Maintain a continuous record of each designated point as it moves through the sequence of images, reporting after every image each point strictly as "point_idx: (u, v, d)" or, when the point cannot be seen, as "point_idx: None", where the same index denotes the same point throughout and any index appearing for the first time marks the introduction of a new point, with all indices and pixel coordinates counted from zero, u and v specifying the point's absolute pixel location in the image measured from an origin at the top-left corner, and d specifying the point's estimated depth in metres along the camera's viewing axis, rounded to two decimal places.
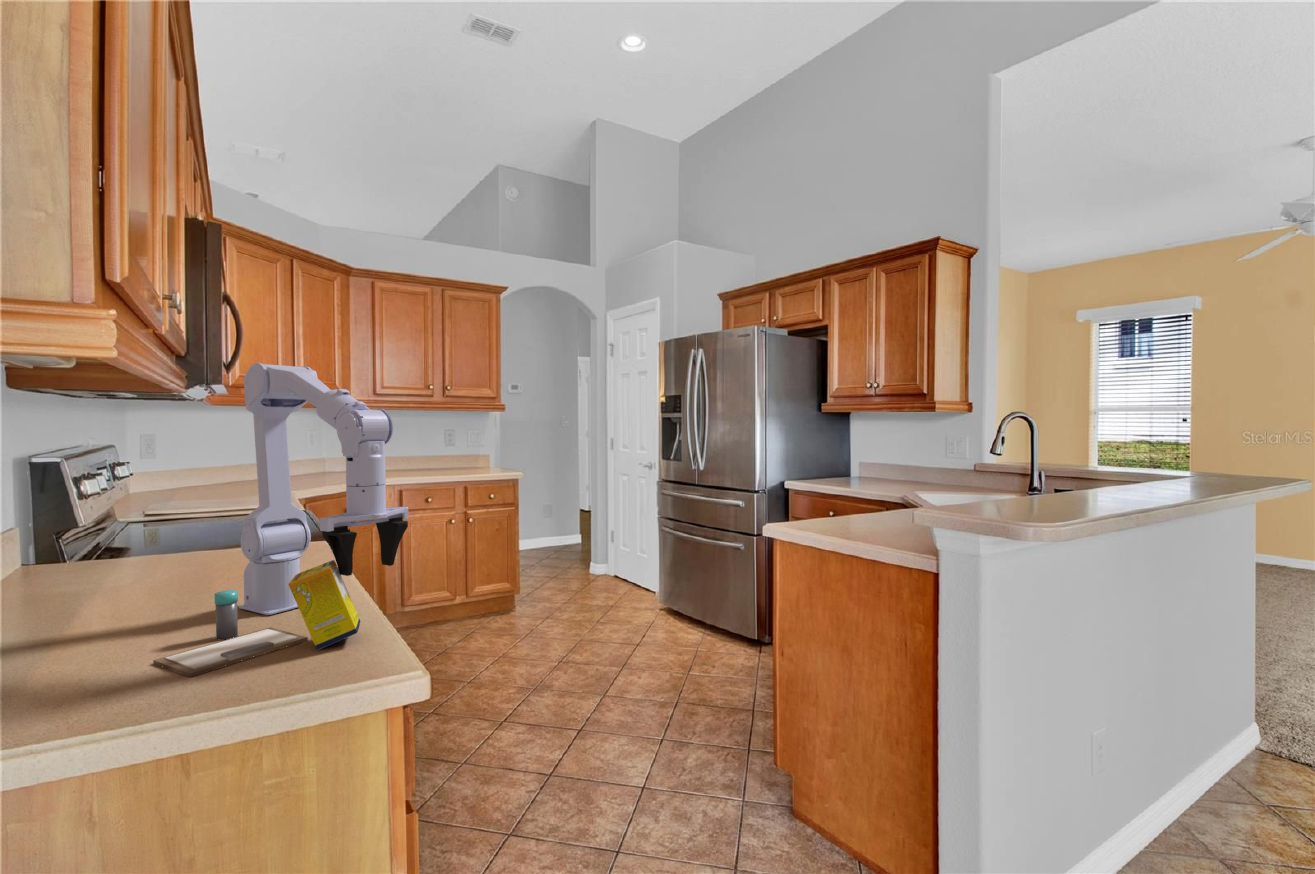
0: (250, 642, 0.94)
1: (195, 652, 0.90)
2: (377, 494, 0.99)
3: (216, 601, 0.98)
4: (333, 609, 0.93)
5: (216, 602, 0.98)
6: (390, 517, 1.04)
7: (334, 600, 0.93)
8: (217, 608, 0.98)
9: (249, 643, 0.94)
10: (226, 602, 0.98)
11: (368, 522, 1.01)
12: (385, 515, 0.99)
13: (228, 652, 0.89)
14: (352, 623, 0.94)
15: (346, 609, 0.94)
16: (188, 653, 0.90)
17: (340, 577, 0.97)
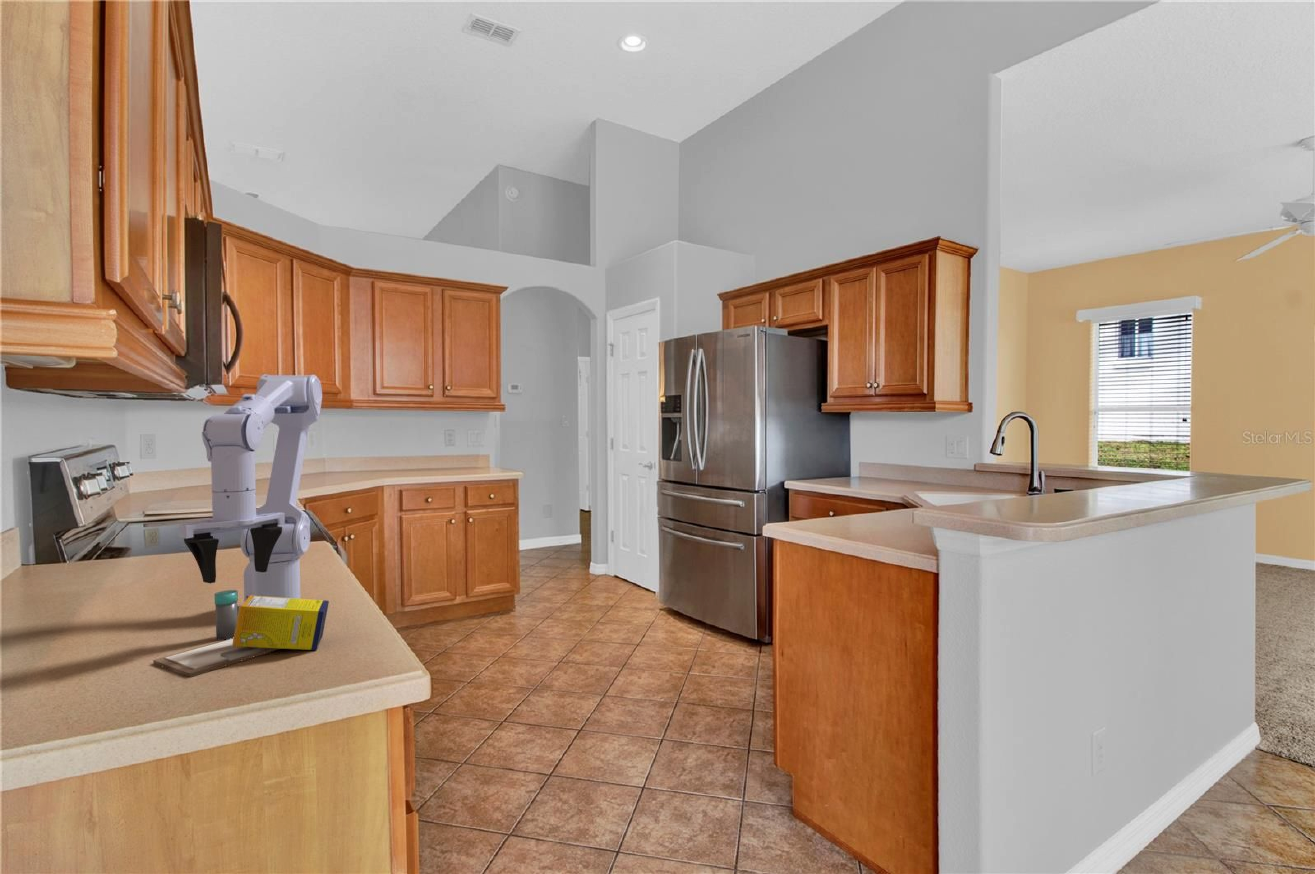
0: None
1: (195, 652, 0.90)
2: (244, 499, 0.97)
3: (216, 601, 0.98)
4: (285, 620, 0.91)
5: (216, 602, 0.98)
6: (263, 523, 1.02)
7: (277, 616, 0.91)
8: (217, 608, 0.98)
9: None
10: (226, 602, 0.98)
11: (236, 528, 0.99)
12: (252, 521, 0.97)
13: (228, 652, 0.89)
14: (311, 611, 0.92)
15: (293, 610, 0.91)
16: (188, 653, 0.90)
17: (268, 598, 0.94)
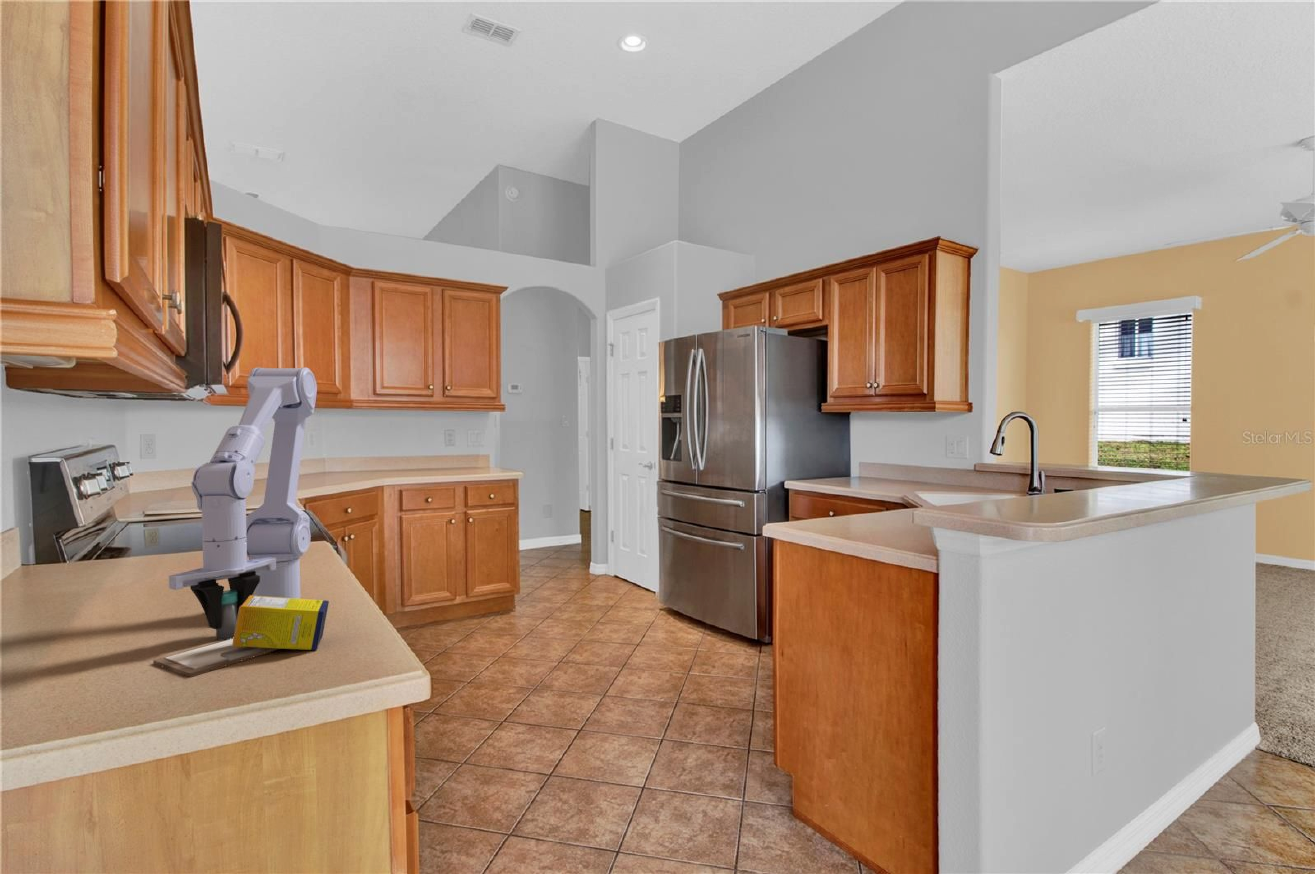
0: None
1: (195, 652, 0.90)
2: (234, 548, 0.97)
3: None
4: (285, 620, 0.91)
5: None
6: (254, 569, 1.02)
7: (277, 616, 0.91)
8: None
9: None
10: (226, 602, 0.98)
11: (227, 576, 0.99)
12: (242, 570, 0.97)
13: (228, 652, 0.89)
14: (311, 611, 0.92)
15: (293, 610, 0.91)
16: (188, 653, 0.90)
17: (268, 598, 0.94)
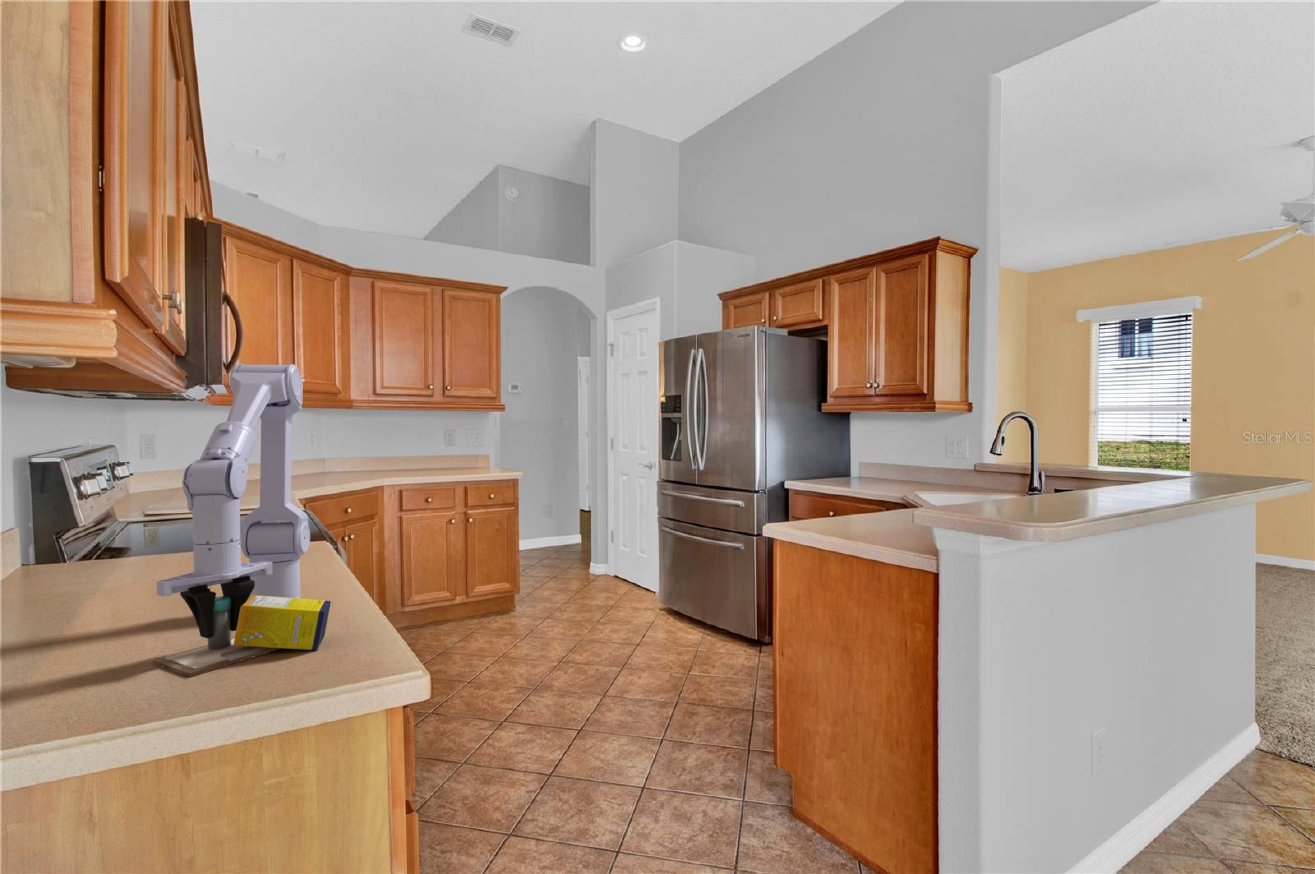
0: None
1: (195, 652, 0.90)
2: (227, 552, 0.91)
3: None
4: (286, 620, 0.91)
5: None
6: (249, 574, 0.96)
7: (278, 615, 0.91)
8: None
9: None
10: (218, 609, 0.91)
11: (219, 582, 0.92)
12: (235, 575, 0.91)
13: (228, 652, 0.89)
14: (312, 611, 0.92)
15: (294, 610, 0.92)
16: (188, 653, 0.90)
17: (270, 598, 0.94)
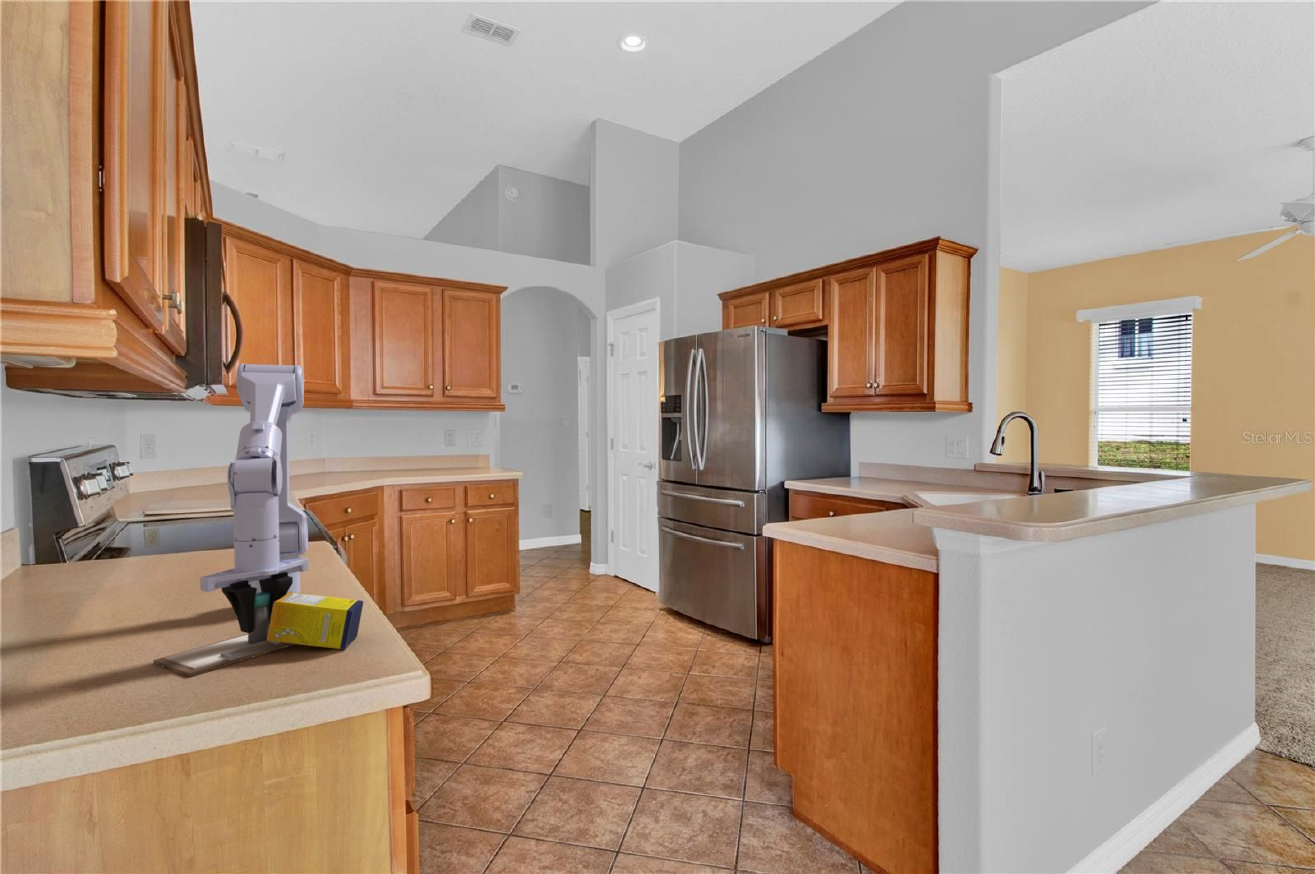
0: None
1: (195, 652, 0.90)
2: (267, 548, 0.93)
3: None
4: (315, 617, 0.92)
5: None
6: (287, 570, 0.98)
7: (308, 613, 0.92)
8: None
9: None
10: (258, 604, 0.93)
11: (259, 578, 0.94)
12: (275, 571, 0.93)
13: (228, 652, 0.89)
14: (340, 610, 0.93)
15: (323, 608, 0.92)
16: (188, 653, 0.90)
17: (305, 595, 0.96)
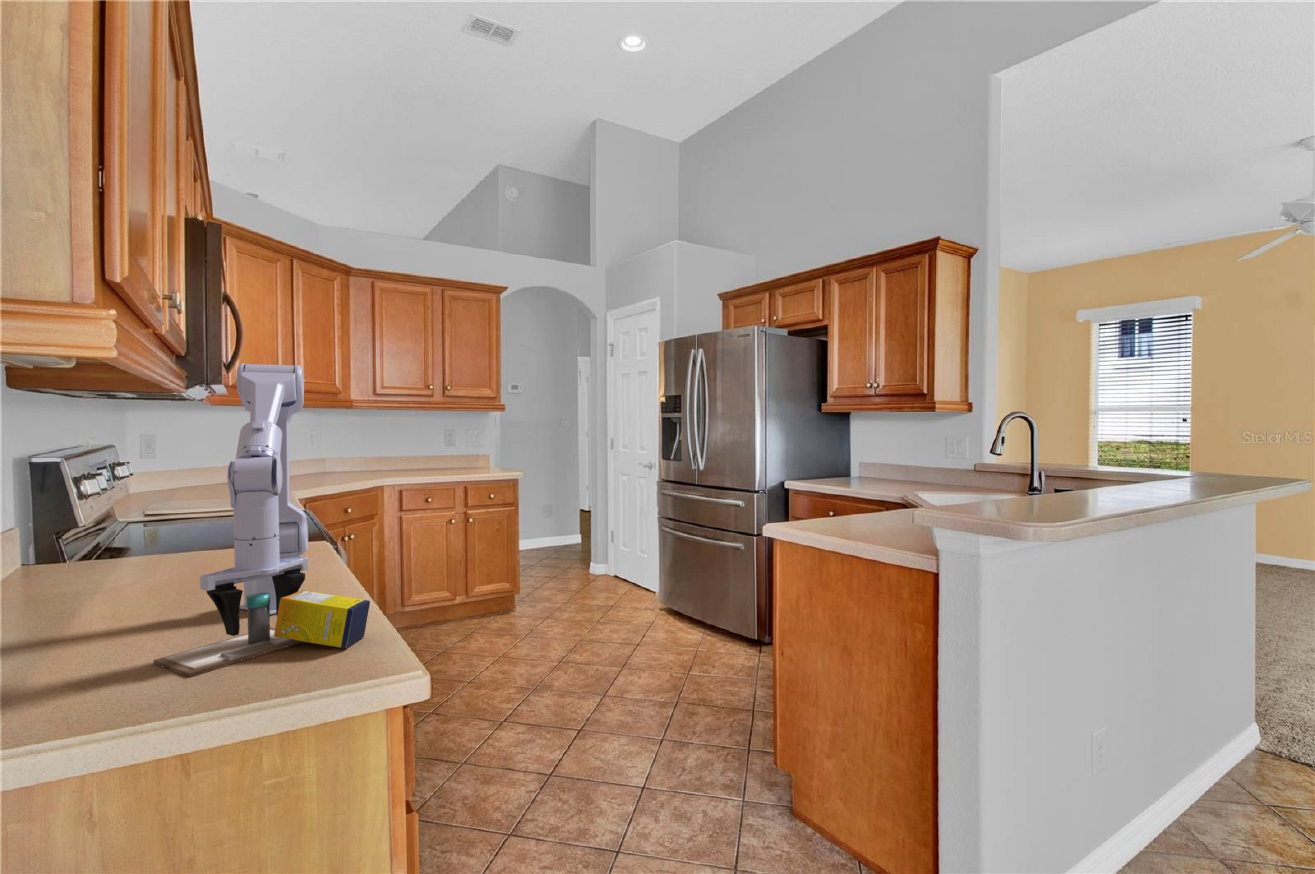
0: None
1: (195, 652, 0.90)
2: (267, 547, 0.93)
3: (248, 604, 0.93)
4: (318, 615, 0.93)
5: (248, 605, 0.93)
6: (287, 569, 0.98)
7: (311, 610, 0.93)
8: (249, 612, 0.93)
9: None
10: (258, 605, 0.93)
11: (259, 576, 0.94)
12: (275, 570, 0.93)
13: (228, 652, 0.89)
14: (341, 608, 0.93)
15: (325, 606, 0.93)
16: (188, 653, 0.90)
17: (314, 594, 0.97)
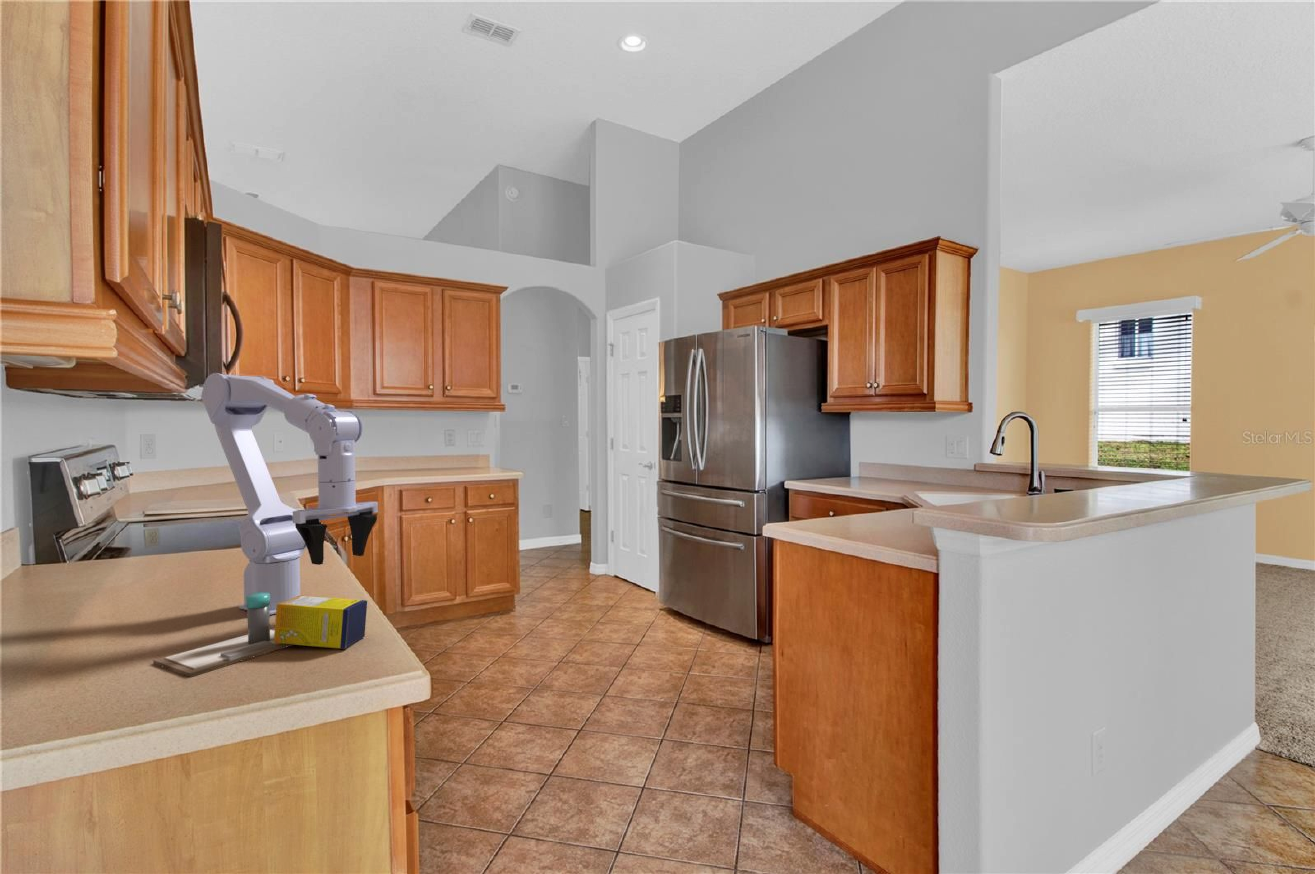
0: None
1: (195, 652, 0.90)
2: (347, 489, 1.07)
3: (248, 604, 0.93)
4: (315, 618, 0.93)
5: (248, 605, 0.93)
6: (360, 511, 1.12)
7: (308, 614, 0.93)
8: (249, 612, 0.93)
9: None
10: (258, 605, 0.93)
11: (339, 515, 1.09)
12: (354, 509, 1.07)
13: (228, 652, 0.89)
14: (337, 609, 0.93)
15: (321, 608, 0.93)
16: (188, 653, 0.90)
17: (311, 598, 0.97)
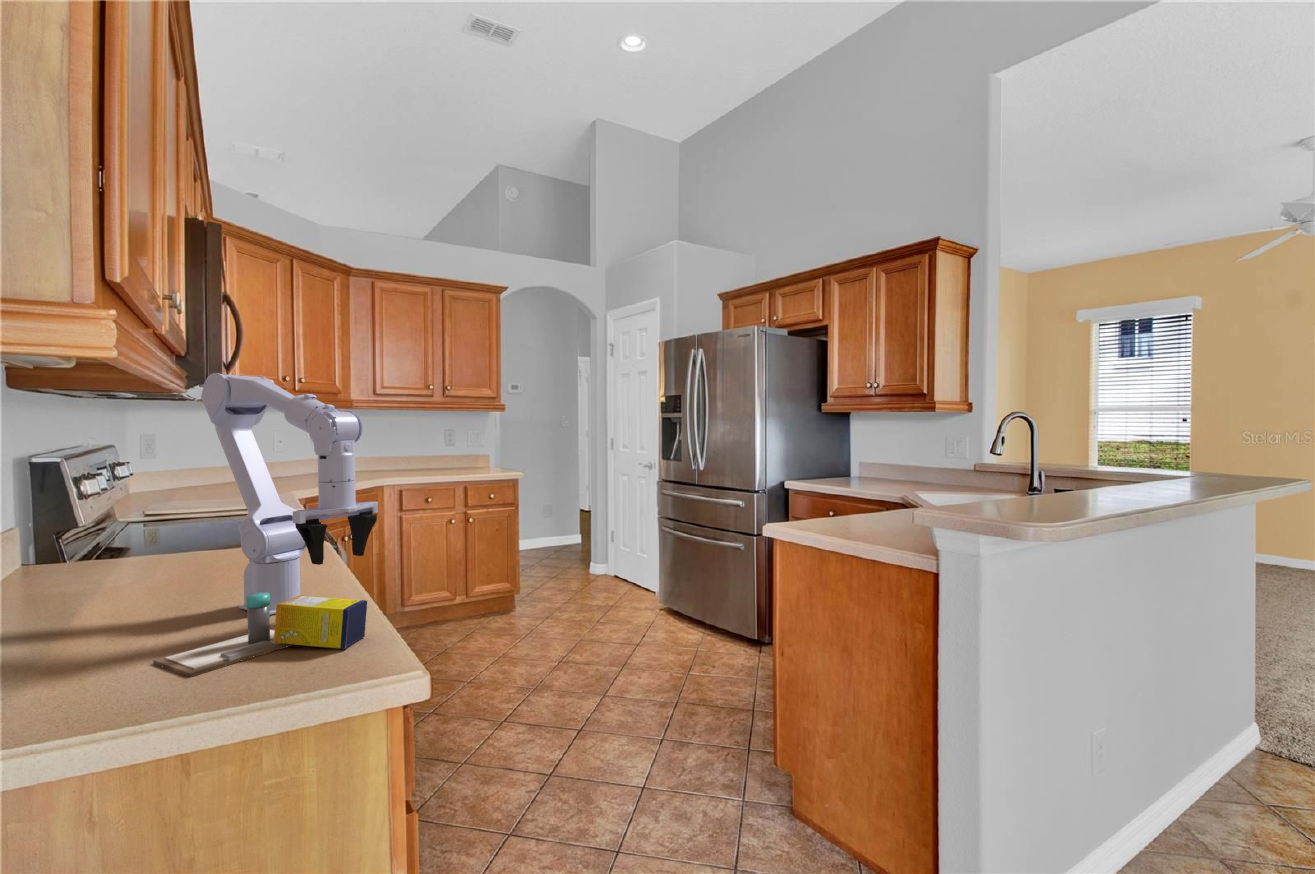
0: None
1: (195, 652, 0.90)
2: (347, 489, 1.07)
3: (248, 604, 0.93)
4: (315, 618, 0.93)
5: (248, 605, 0.93)
6: (360, 511, 1.12)
7: (308, 614, 0.93)
8: (249, 611, 0.93)
9: None
10: (258, 605, 0.93)
11: (339, 515, 1.09)
12: (354, 509, 1.07)
13: (228, 652, 0.89)
14: (337, 609, 0.93)
15: (321, 608, 0.93)
16: (188, 653, 0.90)
17: (311, 598, 0.97)
